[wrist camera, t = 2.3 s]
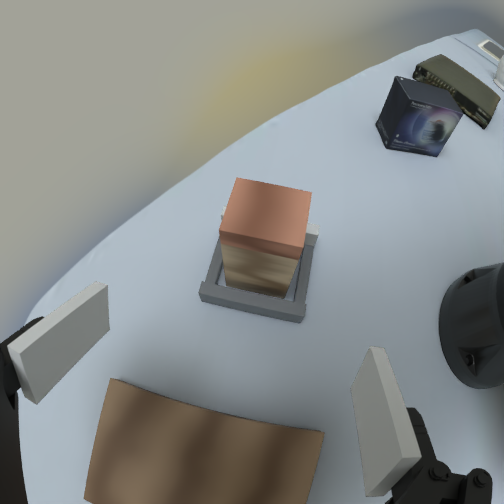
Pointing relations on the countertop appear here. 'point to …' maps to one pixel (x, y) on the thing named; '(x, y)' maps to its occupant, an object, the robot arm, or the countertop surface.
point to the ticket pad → (257, 271)
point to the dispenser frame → (256, 301)
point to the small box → (417, 117)
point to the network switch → (459, 87)
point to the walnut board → (194, 454)
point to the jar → (500, 74)
